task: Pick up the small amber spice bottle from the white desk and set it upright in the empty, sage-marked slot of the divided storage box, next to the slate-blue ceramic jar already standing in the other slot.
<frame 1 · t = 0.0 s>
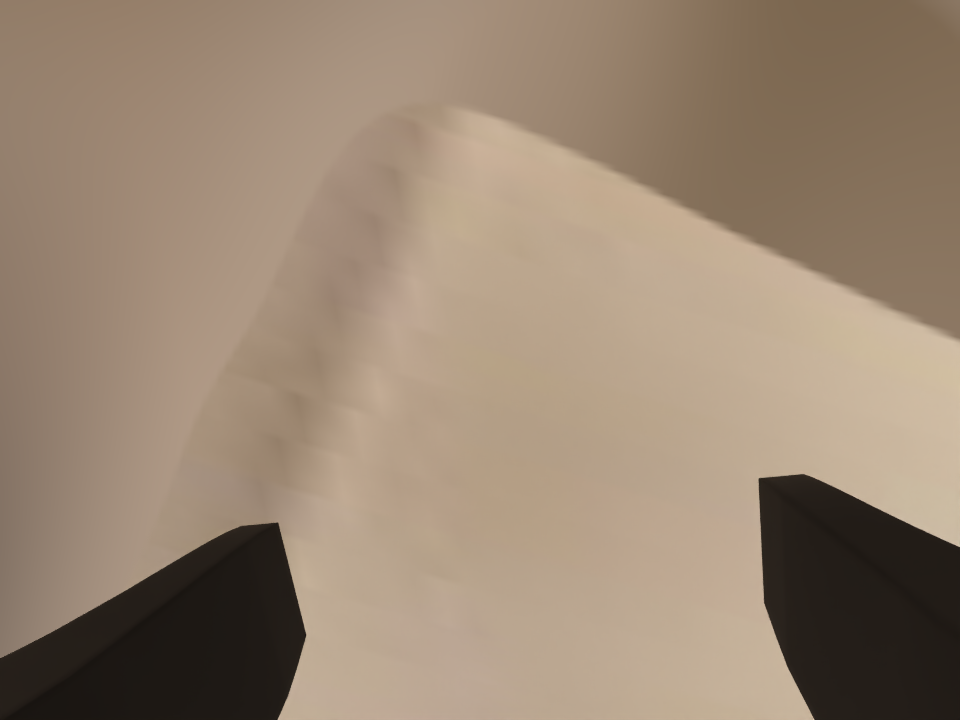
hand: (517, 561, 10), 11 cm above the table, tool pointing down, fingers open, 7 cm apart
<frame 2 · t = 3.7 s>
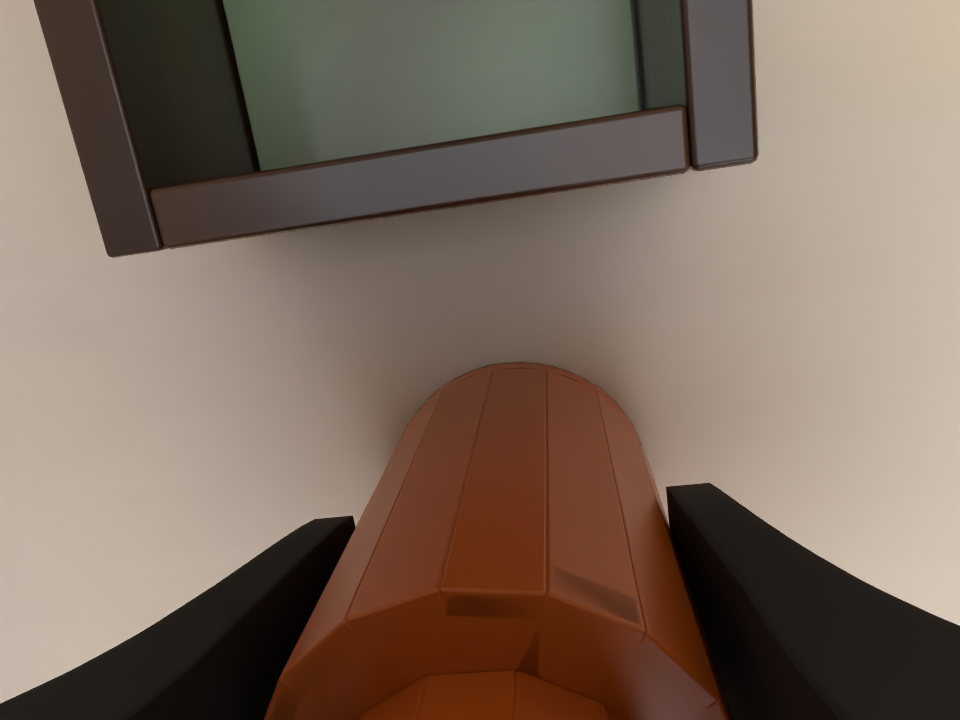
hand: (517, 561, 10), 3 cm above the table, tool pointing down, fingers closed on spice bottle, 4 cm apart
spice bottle: (520, 480, 13), on the table, touching gripper
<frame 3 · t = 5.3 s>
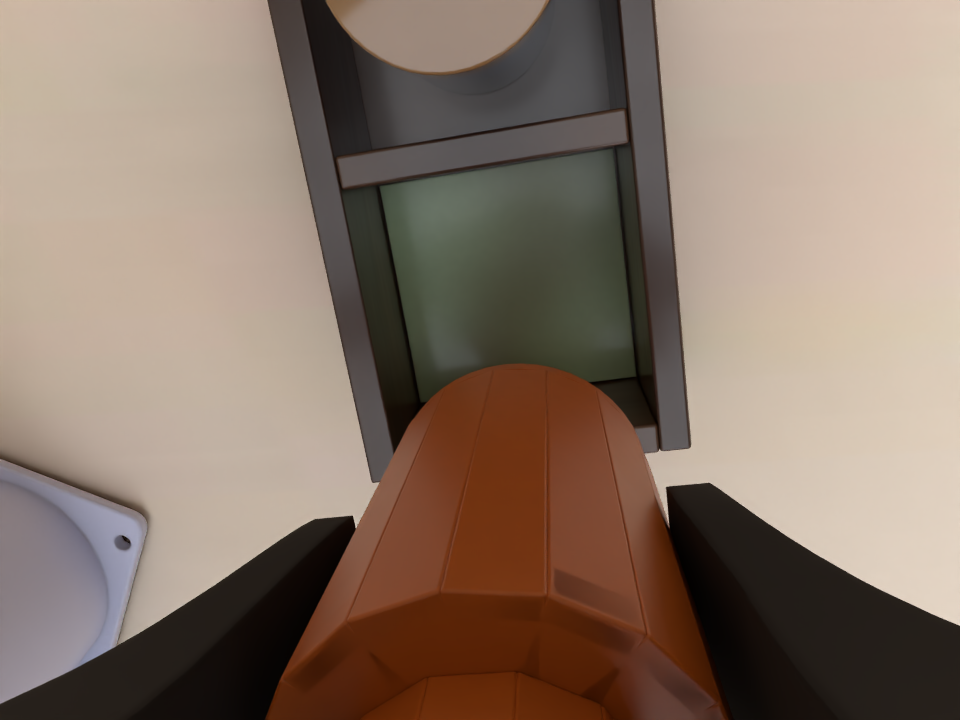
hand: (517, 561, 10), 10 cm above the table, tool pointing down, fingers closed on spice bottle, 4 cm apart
blue jar: (470, 5, 17), point 1 cm above the table, touching divided storage box
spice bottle: (520, 481, 13), point 7 cm above the table, touching gripper
divided storage box: (493, 150, 18), on the table
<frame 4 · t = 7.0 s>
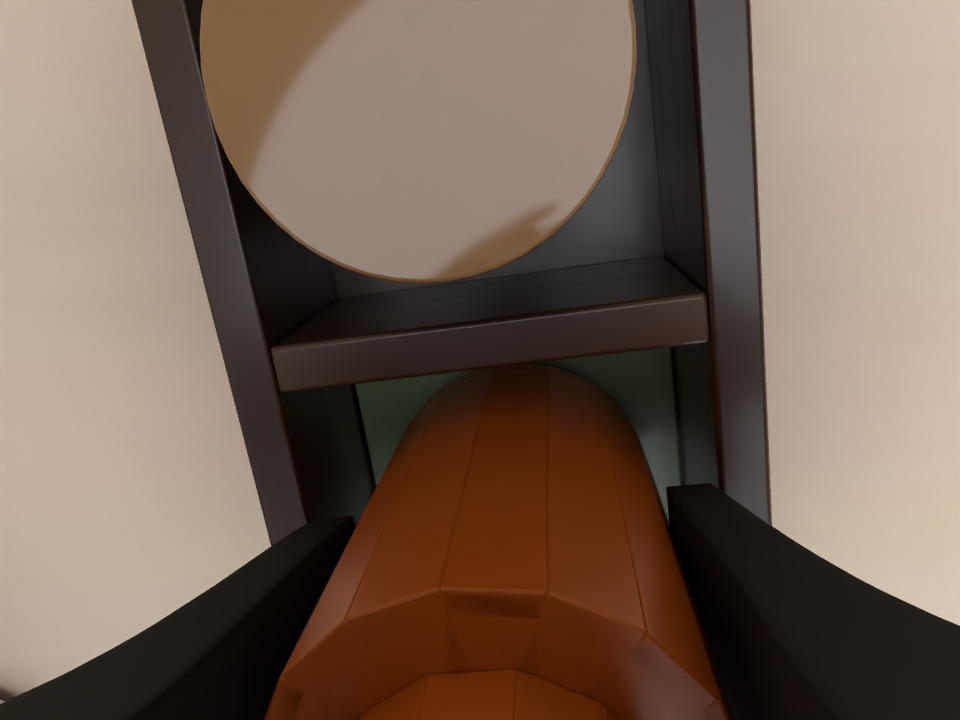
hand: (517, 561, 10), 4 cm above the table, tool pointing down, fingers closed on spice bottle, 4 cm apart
blue jar: (471, 104, 12), point 1 cm above the table, touching divided storage box
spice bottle: (520, 480, 13), point 1 cm above the table, touching gripper
divided storage box: (500, 289, 13), on the table
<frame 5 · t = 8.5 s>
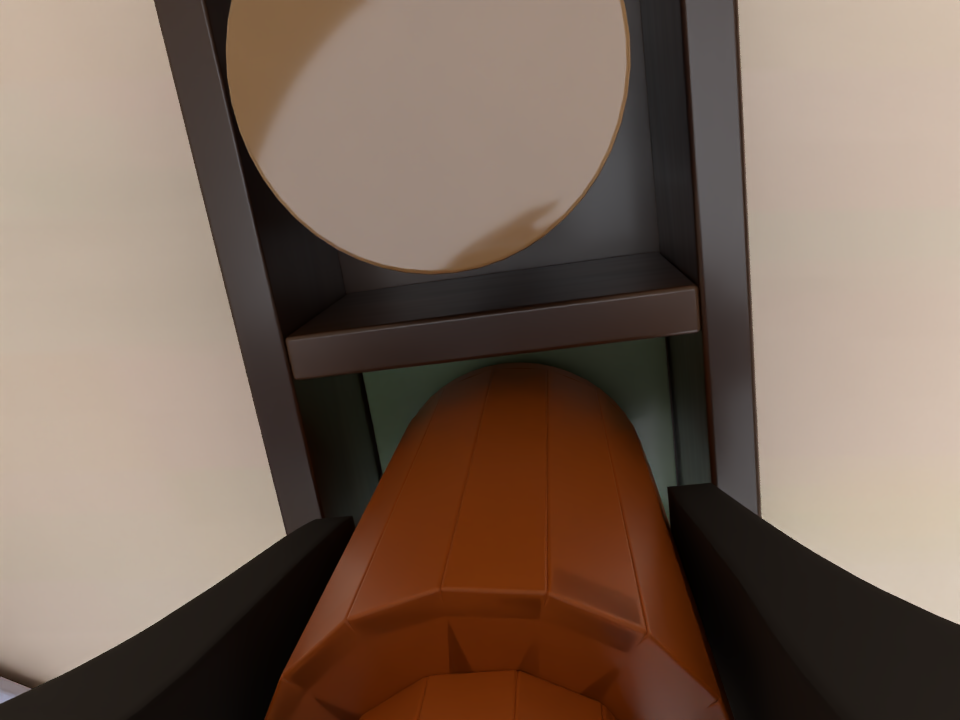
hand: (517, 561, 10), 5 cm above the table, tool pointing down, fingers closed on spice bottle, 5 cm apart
blue jar: (475, 106, 13), point 1 cm above the table, touching divided storage box
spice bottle: (521, 480, 13), point 2 cm above the table, touching gripper
divided storage box: (502, 284, 14), on the table
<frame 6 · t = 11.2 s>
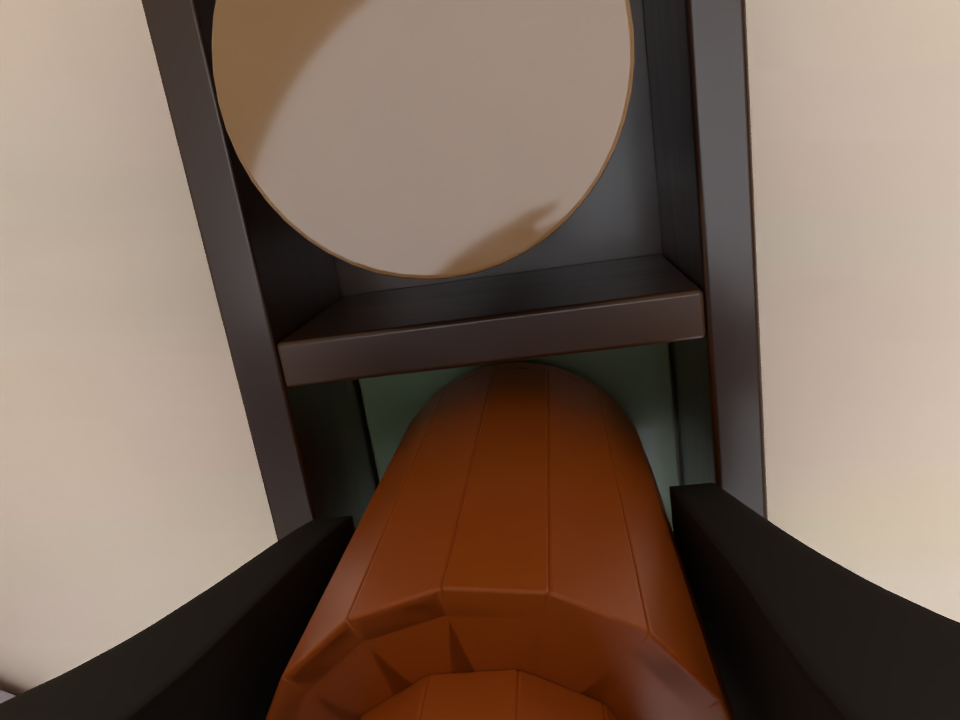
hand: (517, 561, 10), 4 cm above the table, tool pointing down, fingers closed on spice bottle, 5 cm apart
blue jar: (473, 105, 12), point 1 cm above the table, touching divided storage box
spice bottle: (521, 480, 13), point 2 cm above the table, touching gripper
divided storage box: (501, 287, 14), on the table
when the fingers open (5 cm above the table, at t = 13.4 s): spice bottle drops 2 cm, resting on divided storage box.
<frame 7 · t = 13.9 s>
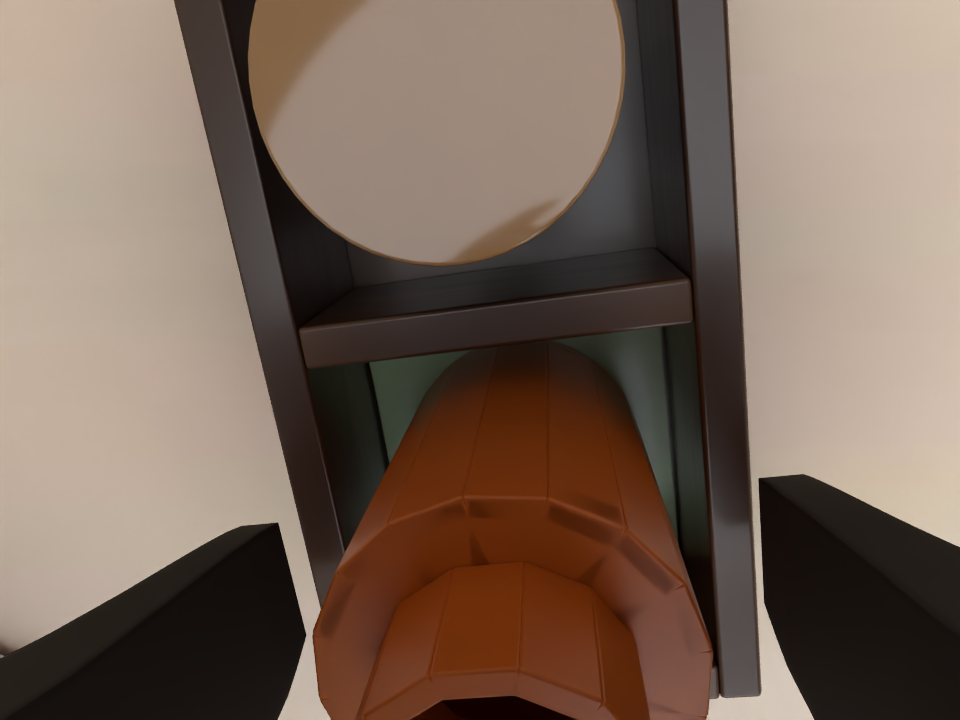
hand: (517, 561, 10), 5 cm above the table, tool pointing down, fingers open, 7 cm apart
blue jar: (478, 108, 13), point 1 cm above the table, touching divided storage box
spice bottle: (524, 444, 15), point 1 cm above the table, touching divided storage box
divided storage box: (505, 279, 15), on the table
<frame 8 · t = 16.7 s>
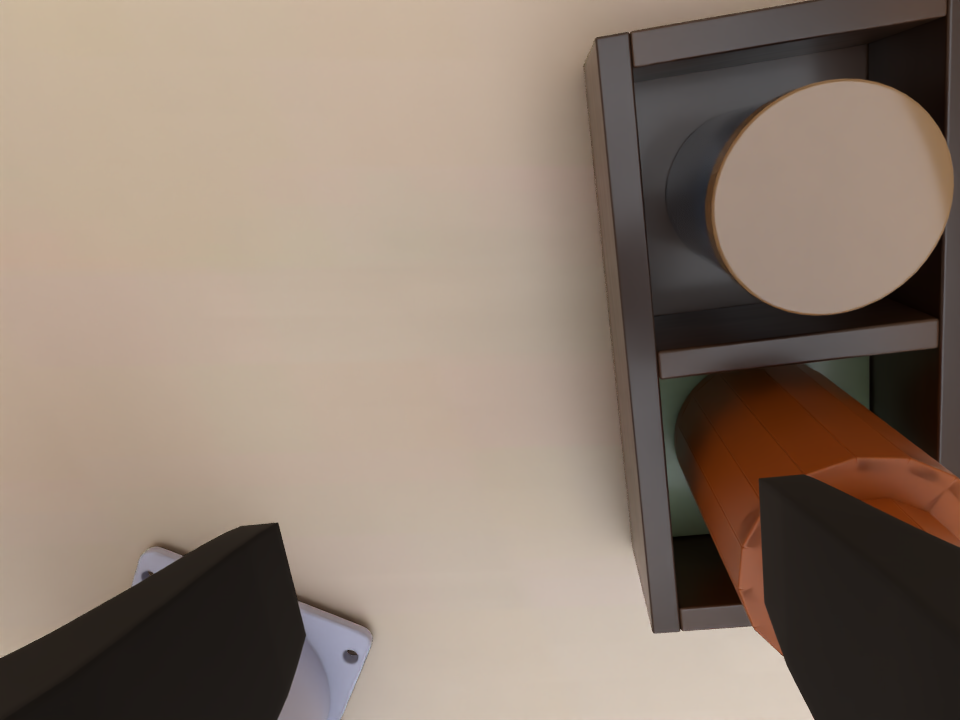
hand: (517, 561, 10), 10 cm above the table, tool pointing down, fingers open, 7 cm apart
blue jar: (744, 189, 18), point 1 cm above the table, touching divided storage box
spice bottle: (758, 434, 20), point 1 cm above the table, touching divided storage box
divided storage box: (744, 311, 19), on the table
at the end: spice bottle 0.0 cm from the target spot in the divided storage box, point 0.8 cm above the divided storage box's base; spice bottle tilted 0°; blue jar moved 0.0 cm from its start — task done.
